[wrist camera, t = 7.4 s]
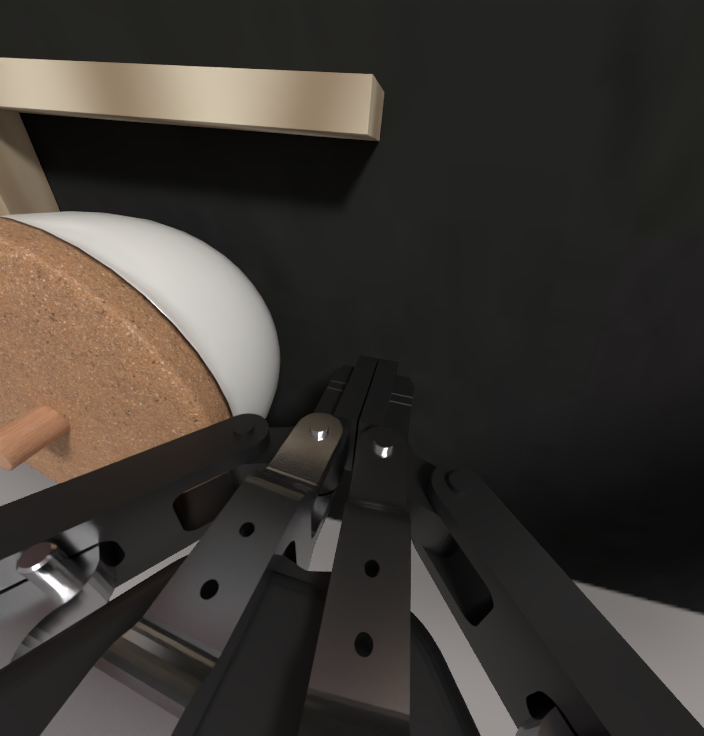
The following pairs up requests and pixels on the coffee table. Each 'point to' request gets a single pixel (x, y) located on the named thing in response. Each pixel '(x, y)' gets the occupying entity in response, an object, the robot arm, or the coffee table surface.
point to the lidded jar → (121, 340)
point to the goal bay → (170, 107)
